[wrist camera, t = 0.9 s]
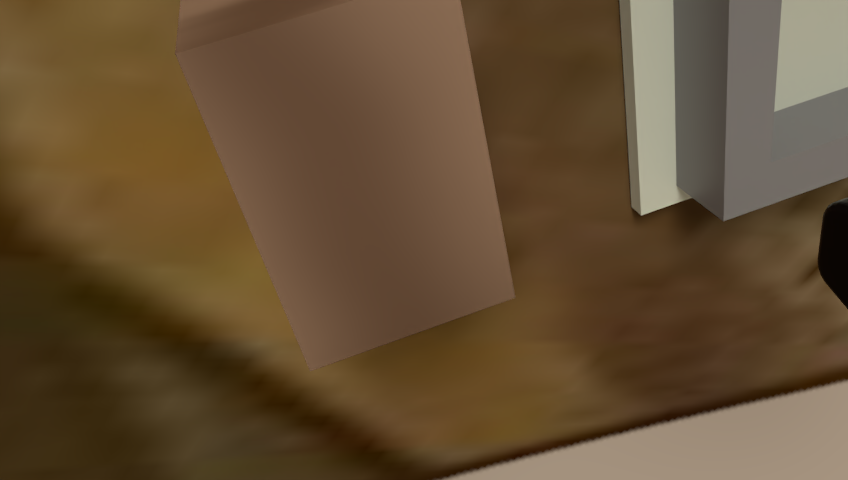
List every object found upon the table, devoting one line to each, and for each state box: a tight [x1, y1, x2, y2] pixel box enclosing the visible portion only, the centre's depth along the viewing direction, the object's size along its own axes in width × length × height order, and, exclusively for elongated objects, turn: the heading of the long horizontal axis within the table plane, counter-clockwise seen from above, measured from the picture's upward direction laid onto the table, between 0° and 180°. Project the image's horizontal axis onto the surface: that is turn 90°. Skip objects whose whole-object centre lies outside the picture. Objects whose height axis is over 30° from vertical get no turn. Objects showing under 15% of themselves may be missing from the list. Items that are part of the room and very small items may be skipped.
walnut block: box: [175, 0, 515, 371], centre depth 13 cm, size 4×6×5 cm, turn 13°
